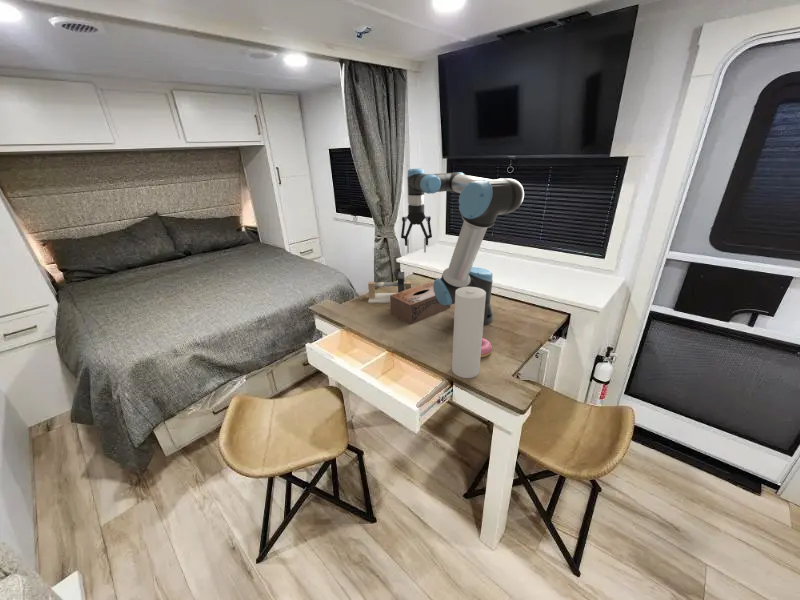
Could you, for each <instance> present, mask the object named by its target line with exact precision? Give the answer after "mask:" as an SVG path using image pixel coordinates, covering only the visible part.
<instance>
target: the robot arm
mask: <svg viewBox="0 0 800 600" xmlns="http://www.w3.org/2000/svg"><path fill="white" fill-rule="evenodd" d="M438 192H439V193H441V192H442V193H443V192H455V193H458V194H459V198H458V204H459V206H458V209H459V212H460V214H461V218H462V220H463V222H462V225H461V229H460V232H459V235H458V238H457V240H456V244H455V246H454V250H453V253H452V256H451V259H450V261H449V262H450V263H449V266H448V267H447V268H444V270H443V271H442V273H441V274H442V275H441V277H440V278H436V279H435V280H434V281H433V282H432V283H433V289H434V293H435V296H436V298H437V300H438V301H439V303H440V304H442V305H455V291H456V290H457V289H458V288H461V287H477V288H480V289H483V290H484V291H485V292H486V299H485V311H484V322H483V325H487V324H489V323H492V321H493V319H494V312H493V309H492V306H491V305H492V304H491V300H492V299H491V298H492V297H491V296H492V288H493V273H492V271H490V270H488V269H486V268H482V267H476V266H473V265H474V264H475V260H476V258H477V255H478V252H479V250H480V247H481V245H482V242H483V241H484V240H483V239H484V237H485V234H486V232H487V229H488V228H491V227H493V226H494V224H495V222H496V219H497V217H498V216H501V215H507V214H510V213H513V212H515V211H516V210H517V209H519V207H520V206H521V205H522V203H523V201H524V197H525V191H524V187H523V185H522V184H521V183H520V182H519V181H518V180H517V179H513V178H502V177H501V178H498V179H495V178H494V179H491V178H485V177H479V176H473V175H467V174H465V173H463V172H460V171H459V172H456V171H455V172H445V173H428V174H427V173H425V169H424V168H410V169H408V170H407V203H408V205H407V211H408V213H407V214H408V215H407V216H402V217H401V221H402V225H401V234H400V238H401V239H404V246H406V248H407V249H406V252H407V254H408V253H410V238H408V237H409V235H410V232H411V230H412V227H413V226H415V225H420V228H421V230H422V232H423V234H424V239H423V253H424V254H425V253H426V252H427V246H428V245H429V239H431V238H433V234H432V227H431V226H432V225H431V218H432V217H431V216H430V215H428V216H427V215H426V214H425V205H424V204H425V194H432V195H433V194H435V193H438ZM407 220H408V221H409V225H408V228H407V231H406V233H405V227H406V222H407ZM424 220H425V221H426V222H427V223H426V224H427V229H428V233H427V231H426V228H425V225H424V222H423V221H424Z"/></svg>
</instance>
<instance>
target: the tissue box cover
mask: <svg viewBox="0 0 800 600" xmlns="http://www.w3.org/2000/svg"><path fill="white" fill-rule="evenodd" d="M433 283H434V282H432V281H429V282H425V283H422V284H419V285H416V286H414V287H411V288H410V289H407V290H404V291H401V292H399V293H398V292H395V293H396V294H393V295H390V303H389V304H390V314H391V315H392V316H393V317H395V318H397V319H399V320H400V321H401V320H402V321H403V322H405V323H407V324H408V325H410V326H411V325H414V324H416V323H418V322H420V321H423V320H426V319H428V318H430V317H433V316H435V315H437V314H439V313H442V312H445V311H447V310H449V309H451V308H452V307H451V305H442V304H440V303H439V301H438V300H437V298H436V296H435V293H434V289H433Z"/></svg>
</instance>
